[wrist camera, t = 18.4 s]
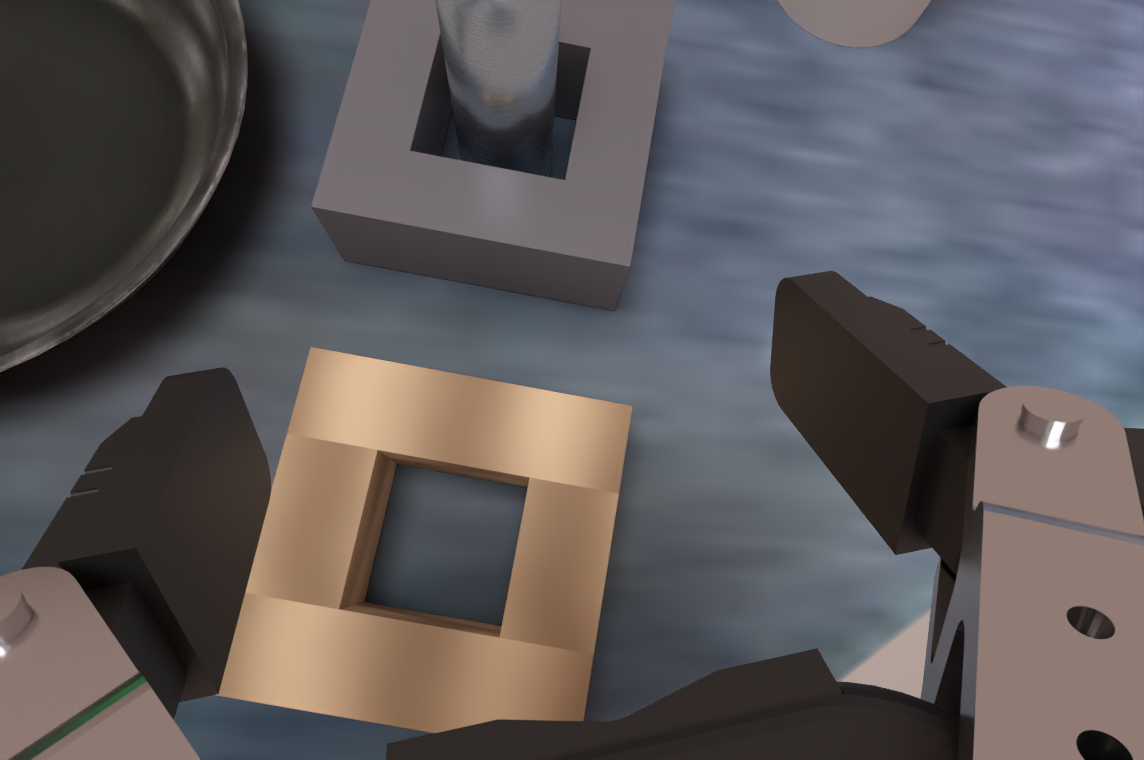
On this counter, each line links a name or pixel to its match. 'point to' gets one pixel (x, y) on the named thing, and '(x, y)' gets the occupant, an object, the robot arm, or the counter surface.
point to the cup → (855, 19)
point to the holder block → (485, 193)
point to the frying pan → (106, 151)
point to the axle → (502, 79)
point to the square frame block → (352, 530)
